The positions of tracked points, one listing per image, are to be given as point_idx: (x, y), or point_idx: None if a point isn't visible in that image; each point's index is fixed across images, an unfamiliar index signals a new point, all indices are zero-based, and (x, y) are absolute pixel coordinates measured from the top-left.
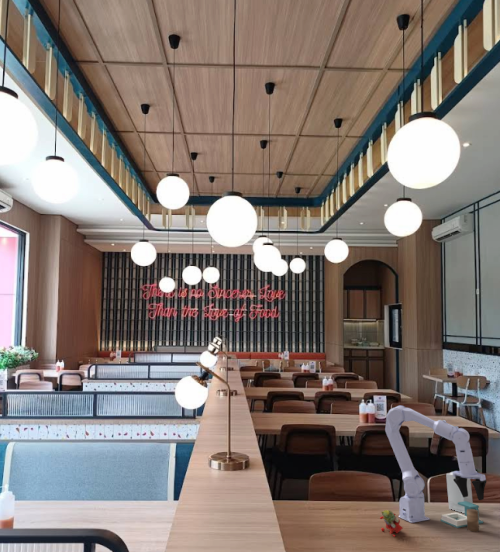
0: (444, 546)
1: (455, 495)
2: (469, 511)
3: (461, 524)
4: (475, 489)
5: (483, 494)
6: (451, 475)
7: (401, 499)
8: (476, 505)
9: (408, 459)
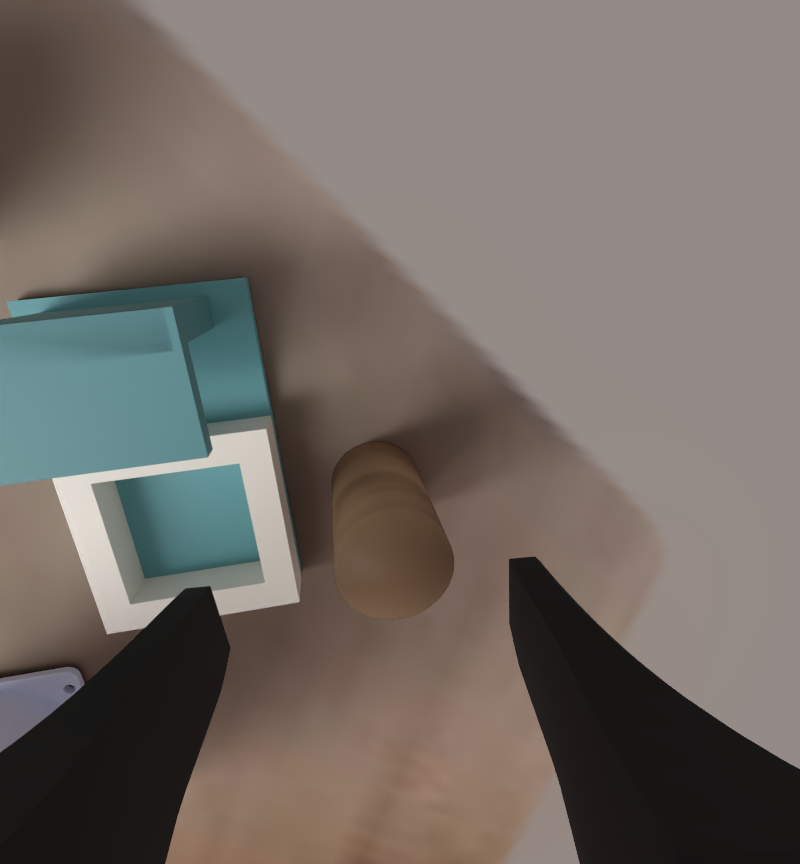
0: (535, 781)
1: None
2: (409, 611)
3: (293, 540)
4: (573, 819)
5: (573, 606)
6: None
7: None
8: (155, 331)
9: None
